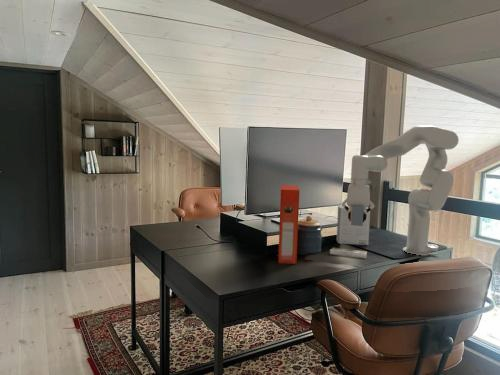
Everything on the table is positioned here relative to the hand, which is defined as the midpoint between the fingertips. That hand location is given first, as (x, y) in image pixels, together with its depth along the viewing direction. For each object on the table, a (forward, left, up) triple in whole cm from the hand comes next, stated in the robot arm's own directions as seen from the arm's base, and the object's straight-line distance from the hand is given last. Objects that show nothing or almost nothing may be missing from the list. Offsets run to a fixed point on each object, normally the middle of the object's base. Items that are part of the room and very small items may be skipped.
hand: (356, 220), depth 182 cm
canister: (+22, +4, -17) cm, 28 cm away
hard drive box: (+3, -19, -17) cm, 26 cm away
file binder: (+29, +17, -17) cm, 37 cm away
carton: (0, 0, -2) cm, 2 cm away
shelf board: (+3, +2, -17) cm, 17 cm away
